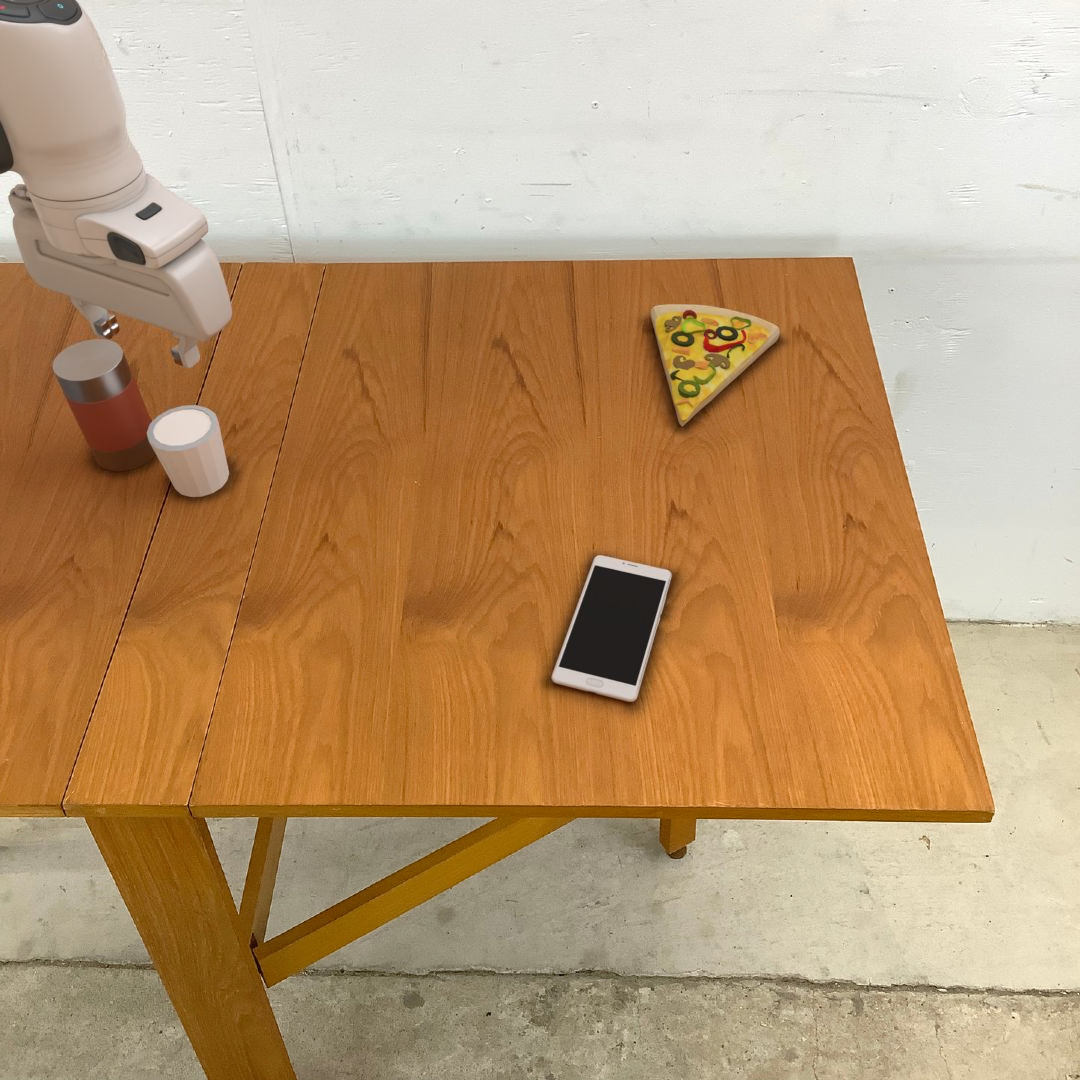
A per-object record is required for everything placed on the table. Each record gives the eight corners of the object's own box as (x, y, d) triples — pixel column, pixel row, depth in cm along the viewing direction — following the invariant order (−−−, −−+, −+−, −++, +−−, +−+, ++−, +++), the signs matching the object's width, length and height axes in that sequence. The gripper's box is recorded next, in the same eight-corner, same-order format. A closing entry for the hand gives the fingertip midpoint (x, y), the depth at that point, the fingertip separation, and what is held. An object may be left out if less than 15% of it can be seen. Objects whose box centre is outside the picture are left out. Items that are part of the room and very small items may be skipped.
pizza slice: (780, 331, 117) (784, 310, 115) (751, 442, 104) (755, 421, 102) (654, 309, 121) (655, 288, 118) (610, 414, 107) (611, 393, 105)
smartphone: (549, 679, 83) (595, 552, 93) (549, 684, 84) (595, 557, 93) (636, 701, 82) (673, 570, 91) (635, 705, 82) (672, 574, 92)
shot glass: (220, 504, 99) (201, 453, 94) (156, 497, 99) (134, 446, 94) (244, 458, 103) (228, 407, 98) (183, 452, 104) (163, 401, 99)
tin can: (81, 460, 103) (36, 369, 95) (125, 422, 107) (86, 331, 99) (129, 479, 101) (88, 388, 92) (173, 440, 105) (138, 349, 96)
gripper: (-28, 196, 80) (36, 336, 90) (168, 257, 74) (213, 400, 84) (31, 162, 84) (86, 300, 94) (222, 218, 78) (258, 359, 88)
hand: (147, 348), depth 89 cm, fingers open, 8 cm apart
